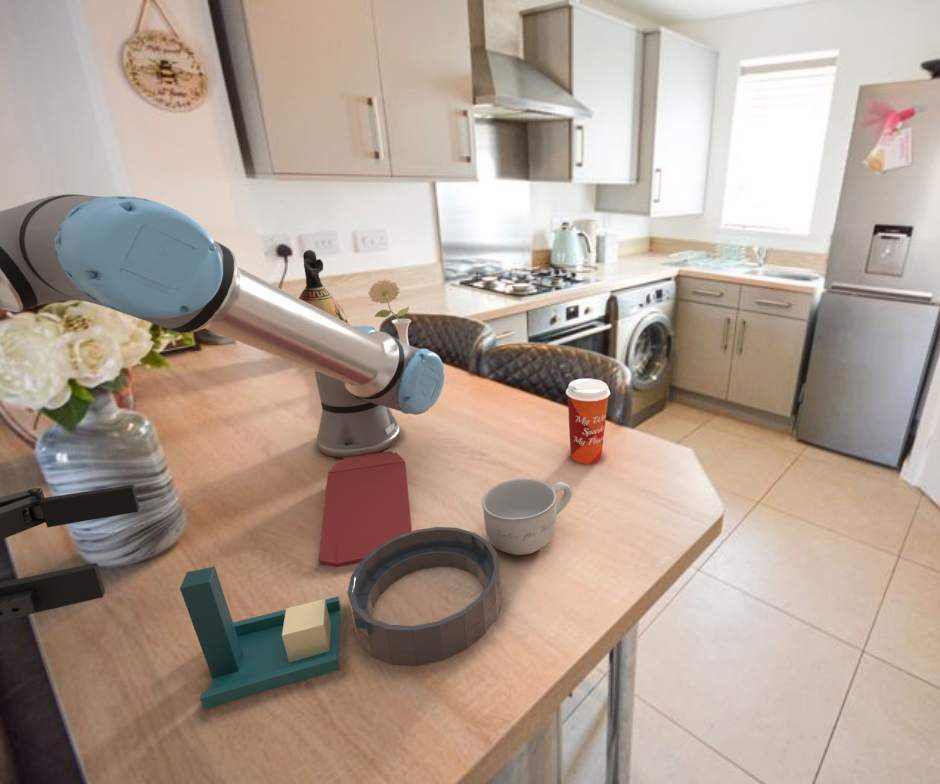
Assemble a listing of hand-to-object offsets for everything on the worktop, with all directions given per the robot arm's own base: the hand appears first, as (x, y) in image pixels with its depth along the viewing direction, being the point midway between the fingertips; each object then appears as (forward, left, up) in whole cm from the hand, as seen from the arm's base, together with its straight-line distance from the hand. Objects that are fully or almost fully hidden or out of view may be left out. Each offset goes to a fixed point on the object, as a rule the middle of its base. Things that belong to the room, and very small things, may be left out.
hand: (120, 533), depth 45 cm
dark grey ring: (+10, +23, -20) cm, 32 cm away
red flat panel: (-14, +29, -20) cm, 38 cm away
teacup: (+10, +41, -20) cm, 47 cm away
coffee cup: (+1, +66, -20) cm, 69 cm away
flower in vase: (-68, +71, -20) cm, 100 cm away
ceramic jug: (-97, +63, -20) cm, 117 cm away
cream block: (+5, +11, -19) cm, 23 cm away
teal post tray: (+3, +8, -20) cm, 22 cm away
